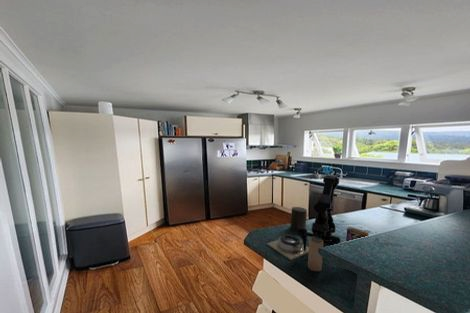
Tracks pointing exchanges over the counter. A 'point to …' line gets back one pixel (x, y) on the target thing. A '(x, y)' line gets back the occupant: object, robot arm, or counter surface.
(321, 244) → the beige cylinder
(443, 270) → the counter surface
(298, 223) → the pillar candle
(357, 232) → the candy box
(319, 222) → the robot arm
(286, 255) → the motor mount
